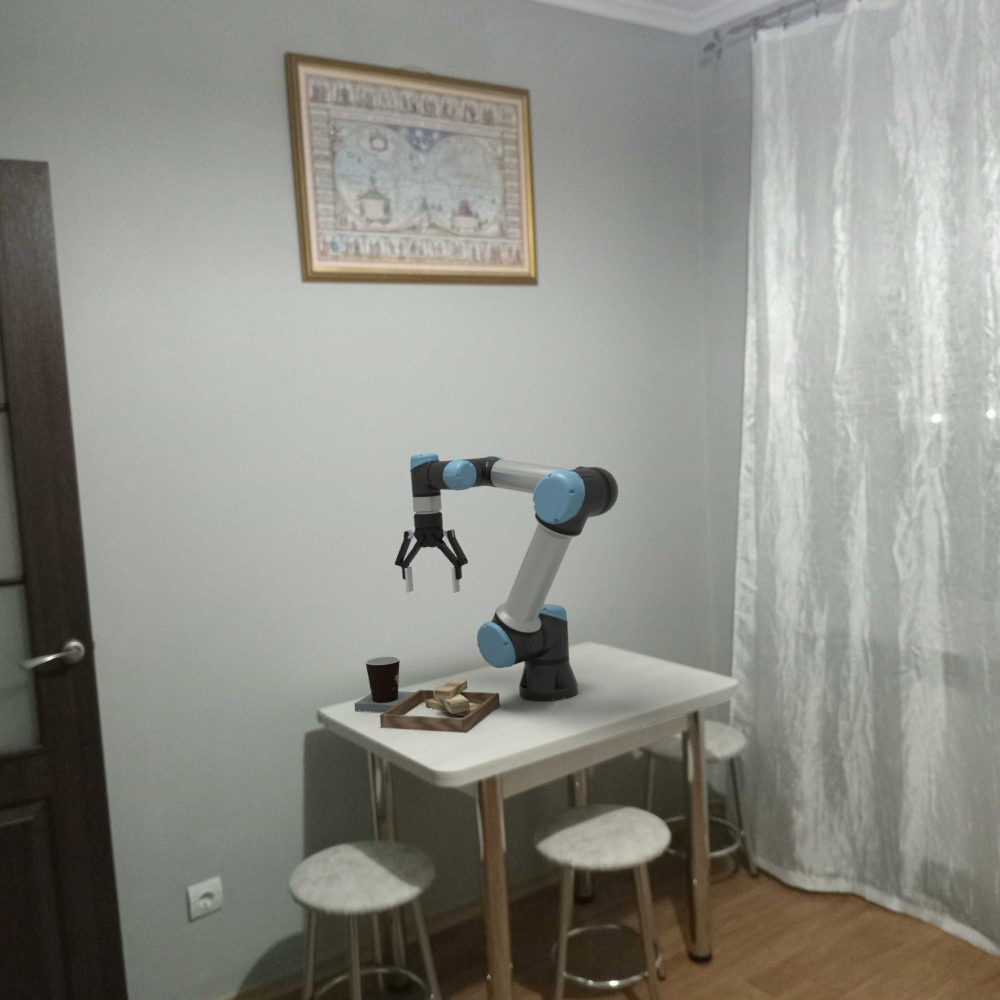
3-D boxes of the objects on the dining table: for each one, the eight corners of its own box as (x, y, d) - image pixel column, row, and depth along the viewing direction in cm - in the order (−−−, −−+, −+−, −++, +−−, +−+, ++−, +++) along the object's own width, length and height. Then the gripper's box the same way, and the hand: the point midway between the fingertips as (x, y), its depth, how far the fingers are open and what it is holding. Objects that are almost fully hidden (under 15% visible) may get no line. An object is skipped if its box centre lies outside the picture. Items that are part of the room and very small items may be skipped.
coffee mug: (388, 705, 244) (385, 666, 244) (361, 702, 249) (358, 663, 248) (416, 693, 254) (413, 655, 254) (389, 690, 259) (387, 652, 258)
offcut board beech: (449, 699, 239) (449, 691, 239) (435, 698, 240) (434, 690, 240) (467, 688, 248) (466, 680, 248) (453, 687, 250) (452, 679, 249)
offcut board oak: (484, 714, 241) (483, 705, 240) (471, 719, 237) (470, 710, 237) (439, 705, 252) (438, 696, 251) (425, 710, 248) (425, 700, 248)
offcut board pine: (469, 710, 237) (469, 700, 237) (451, 713, 235) (451, 703, 235) (451, 696, 250) (450, 687, 250) (433, 699, 248) (433, 690, 248)
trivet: (418, 699, 256) (417, 692, 255) (397, 713, 244) (397, 705, 244) (377, 697, 260) (376, 690, 260) (355, 711, 249) (354, 703, 248)
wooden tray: (499, 704, 246) (499, 693, 246) (466, 732, 226) (465, 719, 226) (420, 700, 254) (419, 689, 254) (380, 727, 234) (379, 714, 233)
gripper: (476, 509, 259) (481, 589, 260) (391, 511, 267) (397, 589, 269) (465, 512, 252) (471, 594, 253) (378, 514, 260) (384, 594, 262)
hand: (433, 591), depth 261 cm, fingers open, 13 cm apart
